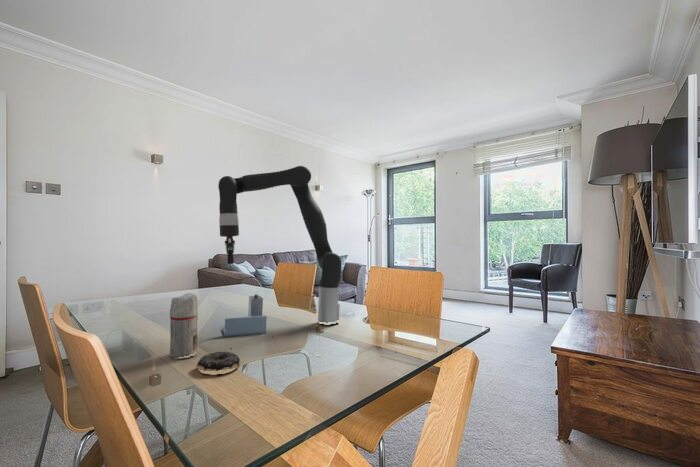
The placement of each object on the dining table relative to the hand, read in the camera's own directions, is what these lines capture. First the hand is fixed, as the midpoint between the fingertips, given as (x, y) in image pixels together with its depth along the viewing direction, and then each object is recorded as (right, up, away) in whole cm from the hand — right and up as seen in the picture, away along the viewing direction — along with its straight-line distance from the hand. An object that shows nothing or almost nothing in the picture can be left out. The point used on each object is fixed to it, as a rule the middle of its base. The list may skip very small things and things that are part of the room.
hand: (230, 263), depth 138 cm
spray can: (-5, -27, -30) cm, 41 cm away
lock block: (+6, -28, +12) cm, 32 cm away
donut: (+11, -28, -39) cm, 50 cm away
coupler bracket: (+5, -28, 0) cm, 29 cm away
